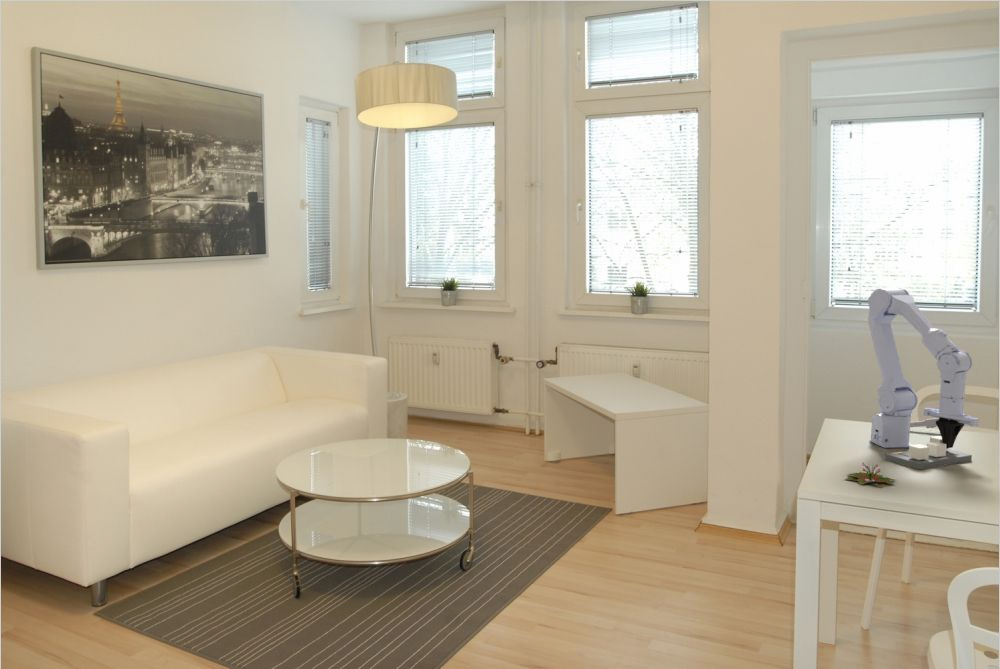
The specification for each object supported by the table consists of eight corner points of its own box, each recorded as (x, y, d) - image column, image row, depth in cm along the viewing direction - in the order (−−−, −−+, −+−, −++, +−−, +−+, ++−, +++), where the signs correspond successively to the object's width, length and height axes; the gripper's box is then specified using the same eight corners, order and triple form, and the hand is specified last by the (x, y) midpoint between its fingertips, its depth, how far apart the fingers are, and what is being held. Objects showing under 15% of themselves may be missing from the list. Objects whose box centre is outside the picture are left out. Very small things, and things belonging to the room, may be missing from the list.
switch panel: (918, 469, 210) (919, 463, 210) (885, 459, 219) (885, 453, 219) (971, 460, 219) (971, 454, 219) (937, 451, 228) (937, 445, 228)
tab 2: (936, 457, 215) (937, 445, 215) (925, 454, 218) (926, 443, 217) (945, 455, 217) (946, 444, 216) (935, 452, 219) (936, 441, 219)
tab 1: (939, 450, 221) (940, 439, 221) (929, 447, 224) (930, 437, 224) (948, 449, 223) (949, 438, 223) (938, 446, 226) (939, 435, 225)
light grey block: (918, 459, 212) (919, 448, 212) (908, 456, 215) (909, 445, 215) (928, 458, 214) (929, 446, 213) (918, 455, 216) (919, 444, 216)
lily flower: (905, 482, 201) (907, 464, 200) (885, 493, 193) (886, 474, 192) (856, 471, 209) (857, 454, 209) (834, 481, 201) (835, 463, 201)
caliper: (950, 434, 249) (952, 413, 248) (951, 435, 248) (953, 414, 247) (876, 428, 255) (877, 408, 254) (876, 429, 254) (878, 409, 253)
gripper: (988, 400, 214) (984, 452, 216) (937, 390, 227) (933, 439, 229) (970, 403, 211) (965, 455, 213) (919, 392, 224) (916, 442, 226)
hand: (948, 447), depth 221 cm, fingers closed
